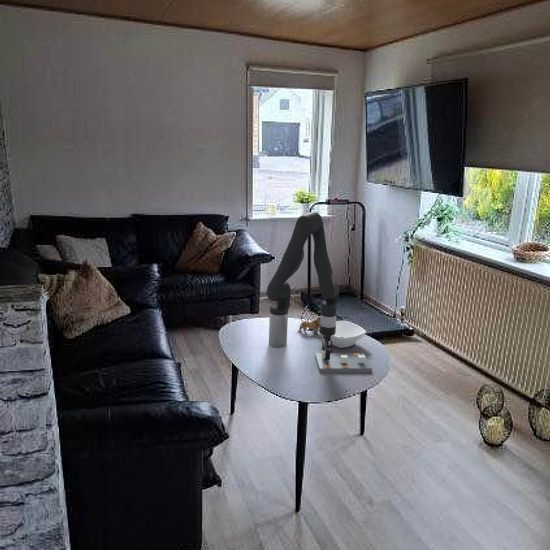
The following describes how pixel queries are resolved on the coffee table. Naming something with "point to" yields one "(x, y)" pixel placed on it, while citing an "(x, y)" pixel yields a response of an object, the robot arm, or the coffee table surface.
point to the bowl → (346, 334)
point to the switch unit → (337, 366)
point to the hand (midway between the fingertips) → (325, 355)
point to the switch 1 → (344, 359)
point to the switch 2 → (361, 359)
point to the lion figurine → (310, 325)
